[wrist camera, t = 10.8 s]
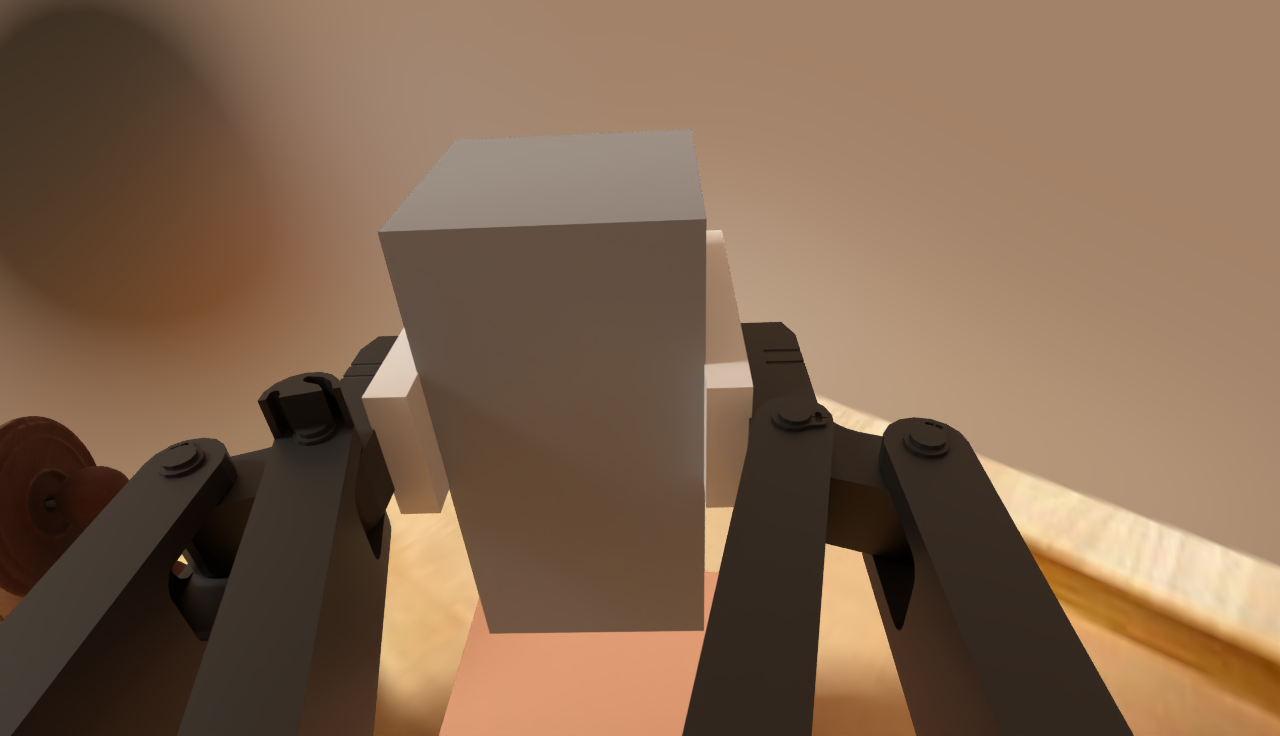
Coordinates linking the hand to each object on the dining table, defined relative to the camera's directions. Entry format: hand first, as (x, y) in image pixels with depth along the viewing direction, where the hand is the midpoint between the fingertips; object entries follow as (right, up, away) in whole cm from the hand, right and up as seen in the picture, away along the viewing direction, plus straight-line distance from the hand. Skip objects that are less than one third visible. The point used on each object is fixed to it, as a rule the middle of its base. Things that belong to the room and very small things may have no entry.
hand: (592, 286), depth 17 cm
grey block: (0, -7, +1) cm, 7 cm away
